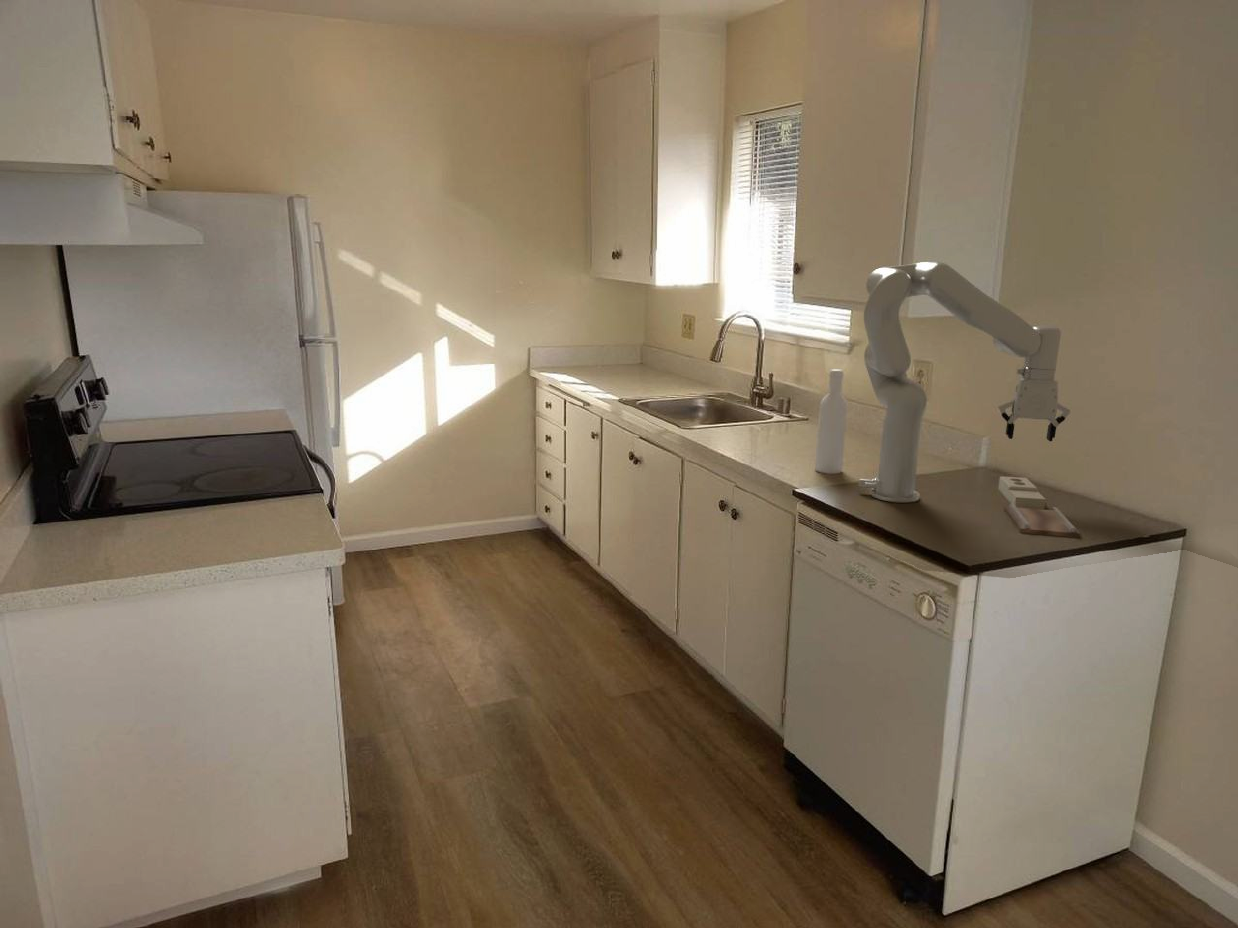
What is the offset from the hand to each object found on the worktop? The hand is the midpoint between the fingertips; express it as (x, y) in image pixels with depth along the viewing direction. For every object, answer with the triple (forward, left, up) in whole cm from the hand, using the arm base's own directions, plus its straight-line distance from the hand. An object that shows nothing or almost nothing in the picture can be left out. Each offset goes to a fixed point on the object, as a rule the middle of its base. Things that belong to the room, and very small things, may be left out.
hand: (1029, 439), depth 227 cm
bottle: (-50, +15, -16) cm, 55 cm away
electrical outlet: (0, 0, -17) cm, 17 cm away
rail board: (0, -22, -16) cm, 27 cm away
